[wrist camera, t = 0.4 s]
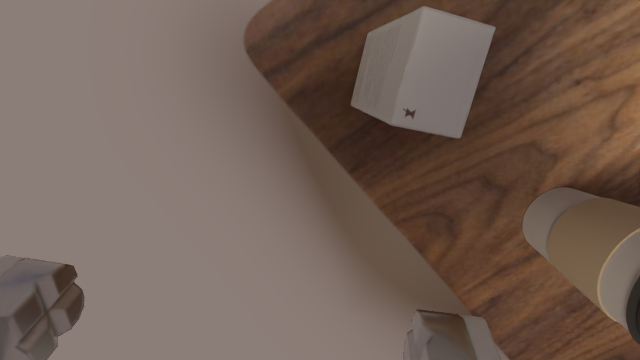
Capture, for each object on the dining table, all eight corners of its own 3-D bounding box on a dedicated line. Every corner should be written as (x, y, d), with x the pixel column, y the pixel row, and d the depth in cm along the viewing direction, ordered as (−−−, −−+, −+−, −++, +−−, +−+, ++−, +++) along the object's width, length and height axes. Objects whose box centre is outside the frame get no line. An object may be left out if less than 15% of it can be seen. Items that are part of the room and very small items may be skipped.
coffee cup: (526, 170, 34) (703, 245, 20) (613, 180, 35) (842, 256, 21) (501, 258, 36) (641, 381, 22) (583, 264, 37) (767, 385, 23)
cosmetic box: (396, 116, 31) (461, 143, 20) (348, 105, 31) (386, 127, 19) (417, 42, 30) (500, 25, 18) (367, 29, 29) (420, 3, 18)
